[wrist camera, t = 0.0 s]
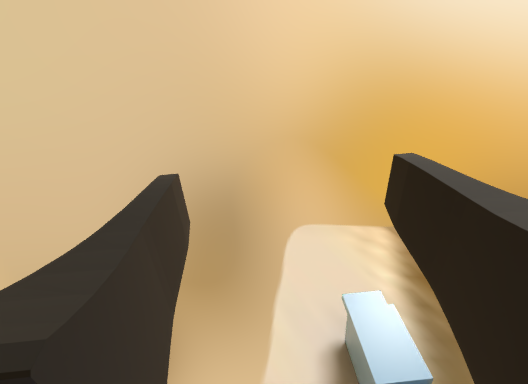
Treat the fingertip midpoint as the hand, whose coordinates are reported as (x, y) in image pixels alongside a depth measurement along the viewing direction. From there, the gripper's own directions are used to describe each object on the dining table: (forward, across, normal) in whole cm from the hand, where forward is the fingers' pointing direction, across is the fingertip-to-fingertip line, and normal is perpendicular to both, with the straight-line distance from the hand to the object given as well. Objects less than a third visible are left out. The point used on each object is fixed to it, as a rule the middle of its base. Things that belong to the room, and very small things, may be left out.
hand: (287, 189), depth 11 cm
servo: (+4, -8, +22) cm, 24 cm away
